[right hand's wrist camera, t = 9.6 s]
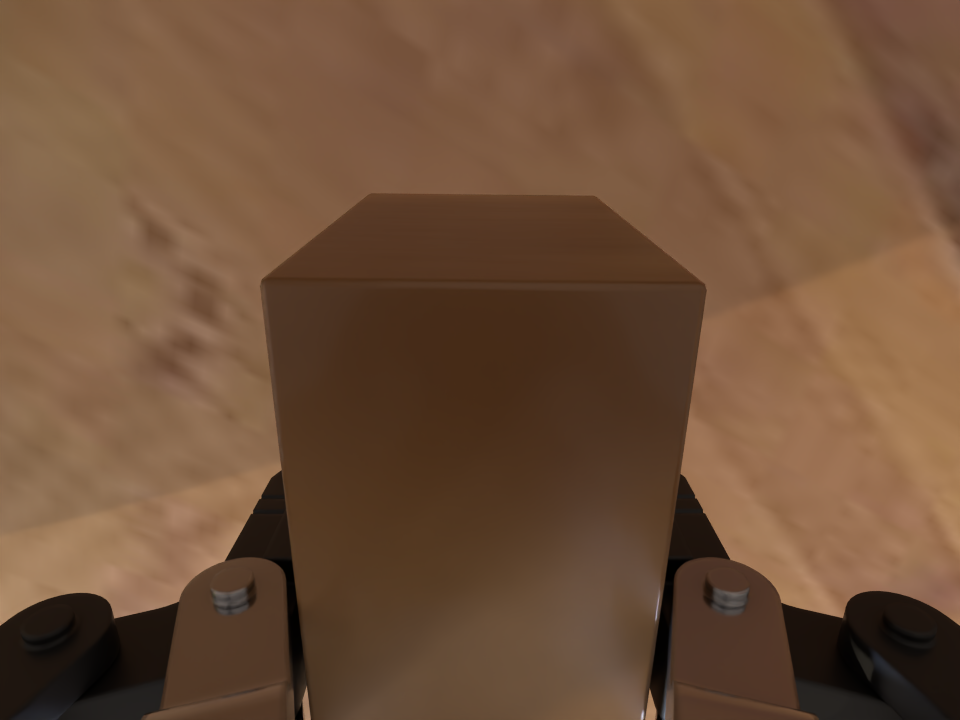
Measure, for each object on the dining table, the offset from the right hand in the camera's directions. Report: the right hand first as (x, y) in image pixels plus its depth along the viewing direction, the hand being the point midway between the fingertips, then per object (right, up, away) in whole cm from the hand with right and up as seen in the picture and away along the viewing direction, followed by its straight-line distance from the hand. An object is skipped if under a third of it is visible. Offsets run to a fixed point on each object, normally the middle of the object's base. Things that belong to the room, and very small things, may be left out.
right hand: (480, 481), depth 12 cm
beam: (0, -18, +9) cm, 20 cm away
